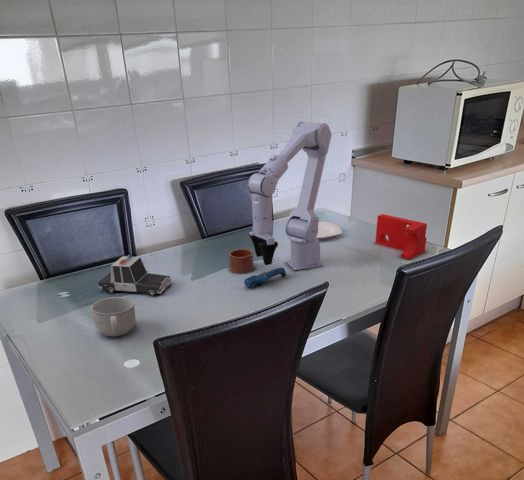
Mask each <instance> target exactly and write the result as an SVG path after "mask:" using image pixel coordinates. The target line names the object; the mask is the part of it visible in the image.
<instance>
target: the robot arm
mask: <svg viewBox="0 0 524 480" xmlns="http://www.w3.org/2000/svg"><path fill="white" fill-rule="evenodd" d="M332 136H333V134H332V132H331V129H330V126H329V125H328V124H327V123H326V122H322V123H321V122H319V123H318V122H308V121H299V122H298V123H297V124H296V126H295V127H294V128H293V129H292V136H291V137H290V139H289V140H288V141H287V143H286V144H285V145H284V147H283V148H282V150H281V151H280V152H279V153H278V154H272V155H271V156H270V157H269V158H268V161H267V162H266V163H265V164H264V165H263V166H262V167H261V168H260V170H259V171H258V172H256V173H253V174H252V175H250V177H249V178H248V181H247V184H246V190H247V191H248V193H249V198H250V200H251V207H252V208H251V210H252V211H251V212H252V231H249V234H248V236H249V238H250V240H251V242H252V244H253V248H254V252H255V255H256V257H257V258H259V257H262V261H263V264H264V266H269V265H272V263H273V259H274V255H275V252H276V250H277V248H278V246H279V242H278V241H275V237H274V230H273V202H272V200H273V198H272V197H273V195H274V193H275V191H276V189H277V185H278V182H279V180H280V179H281V178H282V177H283V176H284V174H285V173H286V172H287V170H288V169H289V164H288V163H289V162H291V160H292V159H293V158H294V157H295V156H296V155H297V154H298V153H300V151H301V150H303V152H304V153H306V155H307V162H306V166H305V171H304V175H303V179H302V184H301V189H300V193H299V198H298V203H297V207H296V208H294V209H293V210H292V211H291V212H289V216H288V219H287V220H286V223H285V227H284V231H285V234H286V235H287V236H288V240H290V260H286V264H287V265H288V266H289V267H290V268H292V269H293V270H294V271H301V270H306V269H312V268H313V269H314V268H319V267H321V266H322V264H321V243H320V239H319V240H318V239H317V238H316V236H317V234H318V222H320V218H319V217H318V215H317V214H316V213H315V206H316V202H317V198H318V193H319V189H320V183H321V180H322V176H323V175H322V174H323V171H324V168H325V164H326V163H325V162H326V159H327V154H328V153H329V148H330V143H331V139H332Z"/></svg>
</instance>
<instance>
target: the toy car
mask: <svg viewBox="0 0 524 480" xmlns="http://www.w3.org/2000/svg"><path fill="white" fill-rule="evenodd" d="M148 272H149V271H148V270H147V269H146V267H145V264H144V262H143V260H142V257H141V256H133V255H132V254H127V255H123V256H121V257H119V258H118V259H117V260H116V261H115V262H114V263H112V264H111V265H110V272H109V273H108V274H106V275H105V276H104V277H103V278H102V279H101V280H99V281H98V282H97V284H98V285H97V288H98V289H100V290H104V291H108V293H109V294H114V293H115V291H118V292H131V293H132V292H134V293H148V294H149V296H150V297H154V296H155V295H156V294H162V293H163V292H164V291H165V290H166V289H167V288H168V287H169V286H170V284H171V283H172V281H173V280H172V279H171V275H164V274H158V273H157V274H156V273H150V272H149V273H148Z"/></svg>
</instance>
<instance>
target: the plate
mask: <svg viewBox="0 0 524 480" xmlns="http://www.w3.org/2000/svg"><path fill="white" fill-rule="evenodd" d="M342 234H343V231H342V229H341V227H340V226H339V225H338V224H335V223H332V222H330V221H325V220H324V221H319V222H318V234H317V236H316V238H317V239H318V240H319V241H320V240H327V239H330V238H335V237H336V236H340V235H342Z"/></svg>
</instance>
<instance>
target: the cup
mask: <svg viewBox="0 0 524 480" xmlns="http://www.w3.org/2000/svg"><path fill="white" fill-rule="evenodd" d="M228 255H229V258H228V259H229V269H230V271H231V272H232V273H235V274H247V273H250V272H252V271H254V269H255V268H254V266H255V265H254V251H252V250H251V249H247V248H245V249H244V248H241V249H240V248H239V249H238V248H237V249H233V250H231V251H230V252H229V253H228Z"/></svg>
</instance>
